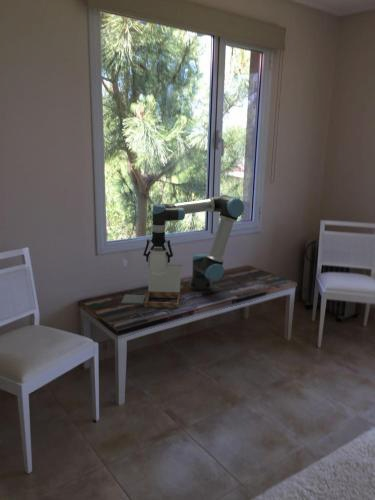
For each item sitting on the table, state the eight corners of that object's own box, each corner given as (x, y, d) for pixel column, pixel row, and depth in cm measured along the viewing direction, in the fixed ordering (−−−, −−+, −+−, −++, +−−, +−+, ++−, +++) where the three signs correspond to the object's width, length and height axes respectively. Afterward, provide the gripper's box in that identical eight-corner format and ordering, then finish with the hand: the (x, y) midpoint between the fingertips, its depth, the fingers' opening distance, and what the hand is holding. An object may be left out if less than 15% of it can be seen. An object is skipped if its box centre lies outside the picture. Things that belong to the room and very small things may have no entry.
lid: (179, 292, 262) (179, 292, 263) (180, 265, 262) (180, 265, 263) (148, 291, 263) (148, 290, 264) (149, 263, 263) (149, 263, 264)
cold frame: (179, 297, 263) (179, 293, 262) (178, 308, 247) (178, 303, 246) (148, 296, 264) (148, 291, 263) (144, 306, 247) (144, 302, 247)
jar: (164, 277, 245) (164, 252, 241) (147, 275, 246) (147, 251, 243) (168, 271, 255) (168, 248, 251) (151, 270, 256) (152, 246, 253)
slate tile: (145, 296, 263) (145, 295, 263) (142, 304, 250) (142, 303, 250) (125, 296, 263) (125, 294, 263) (121, 303, 251) (121, 302, 250)
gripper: (178, 230, 247) (177, 266, 253) (140, 229, 248) (139, 264, 253) (177, 233, 240) (176, 270, 246) (138, 231, 240) (138, 268, 246)
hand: (157, 267), depth 250 cm, fingers closed on jar, 10 cm apart
